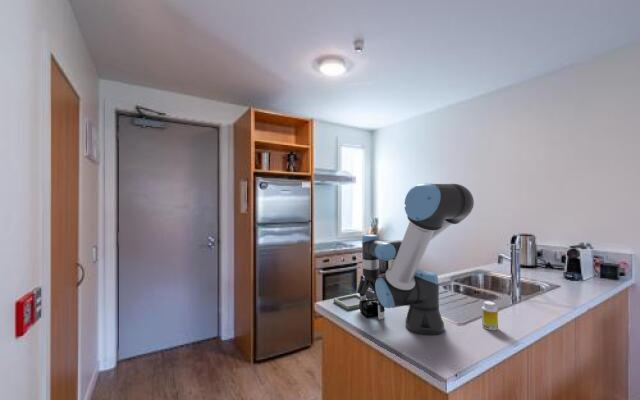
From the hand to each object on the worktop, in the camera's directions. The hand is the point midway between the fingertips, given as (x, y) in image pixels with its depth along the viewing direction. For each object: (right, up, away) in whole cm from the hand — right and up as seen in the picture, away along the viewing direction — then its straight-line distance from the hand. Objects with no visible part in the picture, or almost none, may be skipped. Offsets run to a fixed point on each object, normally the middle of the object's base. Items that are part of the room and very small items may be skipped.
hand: (372, 313), depth 134 cm
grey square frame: (-8, 0, +14) cm, 16 cm away
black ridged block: (0, -1, 0) cm, 1 cm away
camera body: (+4, 0, +22) cm, 23 cm away
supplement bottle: (+45, +1, -17) cm, 48 cm away
